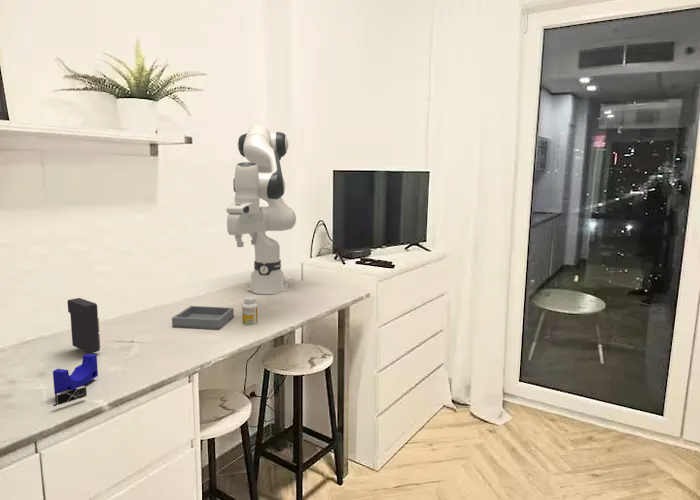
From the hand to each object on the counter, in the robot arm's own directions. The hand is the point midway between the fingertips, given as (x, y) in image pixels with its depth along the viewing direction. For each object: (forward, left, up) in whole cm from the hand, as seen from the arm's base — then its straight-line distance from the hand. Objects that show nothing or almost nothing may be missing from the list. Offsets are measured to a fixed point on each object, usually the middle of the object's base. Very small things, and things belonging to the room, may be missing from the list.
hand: (247, 245), depth 181 cm
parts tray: (+4, -15, -28) cm, 33 cm away
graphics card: (+69, -23, -29) cm, 78 cm away
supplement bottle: (+3, +2, -29) cm, 29 cm away
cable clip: (+60, -28, -29) cm, 72 cm away
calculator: (+36, -40, -29) cm, 61 cm away
